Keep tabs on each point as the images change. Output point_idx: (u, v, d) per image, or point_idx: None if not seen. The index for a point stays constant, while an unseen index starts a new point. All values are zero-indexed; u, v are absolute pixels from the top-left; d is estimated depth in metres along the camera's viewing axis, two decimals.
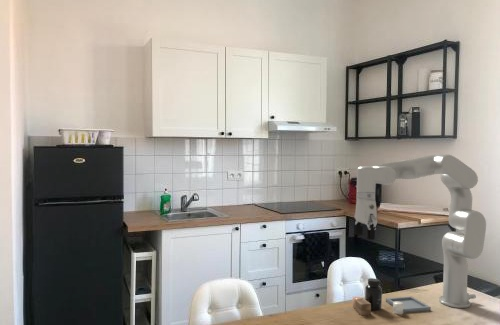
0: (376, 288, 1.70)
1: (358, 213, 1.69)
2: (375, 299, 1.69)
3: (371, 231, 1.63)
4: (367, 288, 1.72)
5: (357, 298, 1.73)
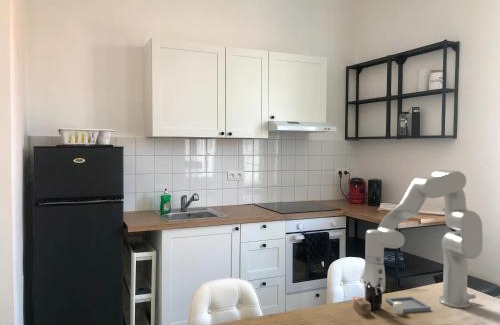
0: None
1: (367, 275, 1.73)
2: None
3: (378, 296, 1.68)
4: (367, 288, 1.72)
5: (357, 298, 1.73)
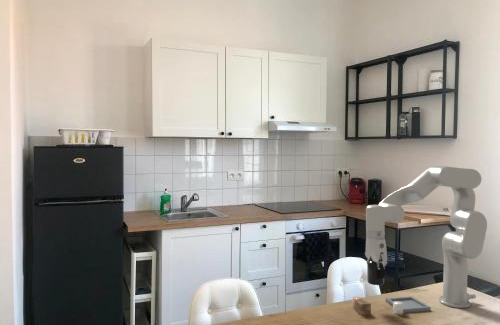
0: None
1: (368, 251, 1.73)
2: None
3: (380, 270, 1.68)
4: (369, 263, 1.71)
5: (357, 298, 1.73)
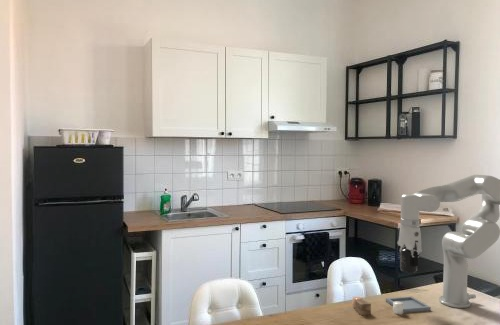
0: None
1: (402, 239, 1.76)
2: None
3: (415, 258, 1.70)
4: (403, 251, 1.74)
5: (357, 298, 1.73)
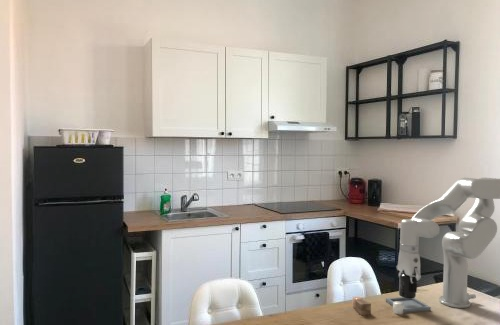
0: None
1: (401, 264, 1.76)
2: None
3: (414, 284, 1.71)
4: (402, 276, 1.74)
5: (357, 298, 1.73)
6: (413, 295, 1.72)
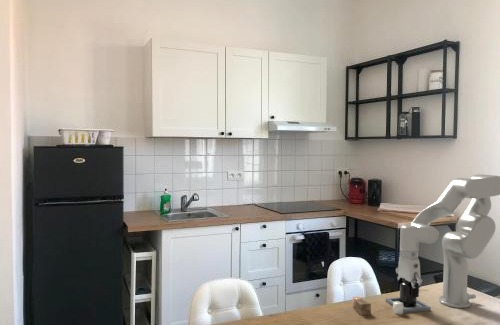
0: (411, 285, 1.73)
1: (401, 270, 1.76)
2: (410, 296, 1.72)
3: (415, 289, 1.70)
4: (402, 285, 1.74)
5: (357, 298, 1.73)
6: (414, 304, 1.73)
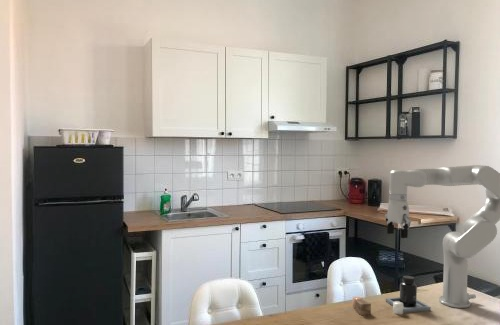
0: (411, 285, 1.73)
1: (391, 213, 1.82)
2: (410, 296, 1.72)
3: (405, 230, 1.76)
4: (402, 285, 1.74)
5: (357, 298, 1.73)
6: (414, 304, 1.73)
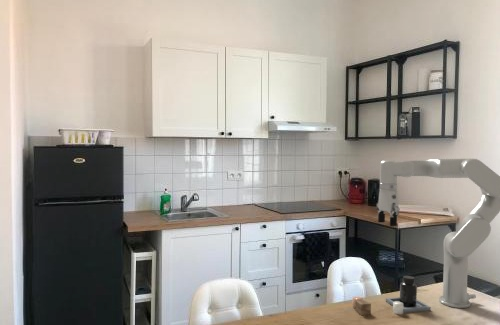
0: (411, 285, 1.73)
1: (381, 203, 1.89)
2: (410, 296, 1.72)
3: (394, 218, 1.82)
4: (402, 285, 1.74)
5: (357, 298, 1.73)
6: (414, 304, 1.73)
